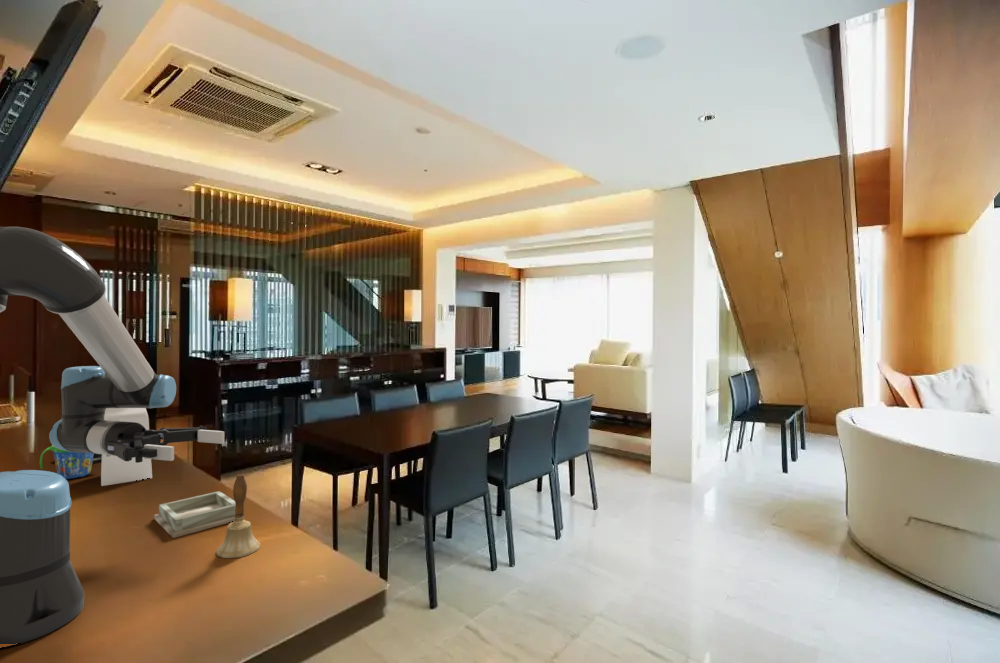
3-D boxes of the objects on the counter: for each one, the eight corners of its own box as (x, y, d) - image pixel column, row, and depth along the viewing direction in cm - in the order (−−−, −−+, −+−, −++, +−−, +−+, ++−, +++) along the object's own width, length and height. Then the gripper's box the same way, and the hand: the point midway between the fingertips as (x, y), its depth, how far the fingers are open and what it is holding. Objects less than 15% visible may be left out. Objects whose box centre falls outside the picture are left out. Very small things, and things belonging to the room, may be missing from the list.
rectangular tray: (244, 518, 121) (244, 504, 121) (173, 538, 110) (173, 522, 110) (221, 502, 131) (221, 489, 131) (154, 519, 120) (154, 504, 120)
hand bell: (253, 537, 111) (253, 466, 111) (266, 550, 105) (266, 475, 105) (211, 548, 106) (211, 474, 105) (222, 563, 100) (222, 484, 99)
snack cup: (109, 467, 160) (108, 436, 159) (105, 476, 151) (105, 443, 151) (43, 475, 151) (43, 442, 151) (36, 485, 142) (35, 450, 142)
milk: (101, 486, 143) (100, 395, 142) (100, 475, 151) (100, 390, 151) (152, 478, 150) (152, 392, 150) (149, 468, 159) (148, 387, 158)
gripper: (166, 441, 124) (241, 447, 119) (59, 472, 99) (147, 481, 95) (166, 411, 124) (241, 416, 119) (58, 434, 99) (147, 442, 95)
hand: (199, 445), depth 107 cm, fingers open, 13 cm apart
